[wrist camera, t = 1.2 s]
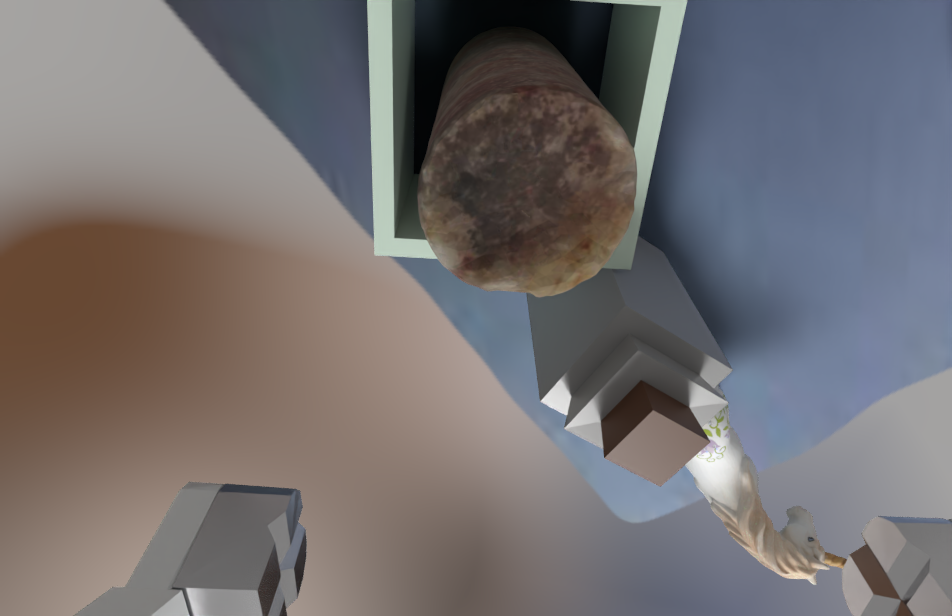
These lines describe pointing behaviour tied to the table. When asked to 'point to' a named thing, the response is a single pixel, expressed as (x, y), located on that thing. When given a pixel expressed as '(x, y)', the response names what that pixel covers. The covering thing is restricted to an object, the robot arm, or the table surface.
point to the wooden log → (523, 169)
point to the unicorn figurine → (754, 506)
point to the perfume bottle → (630, 364)
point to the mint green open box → (622, 93)
